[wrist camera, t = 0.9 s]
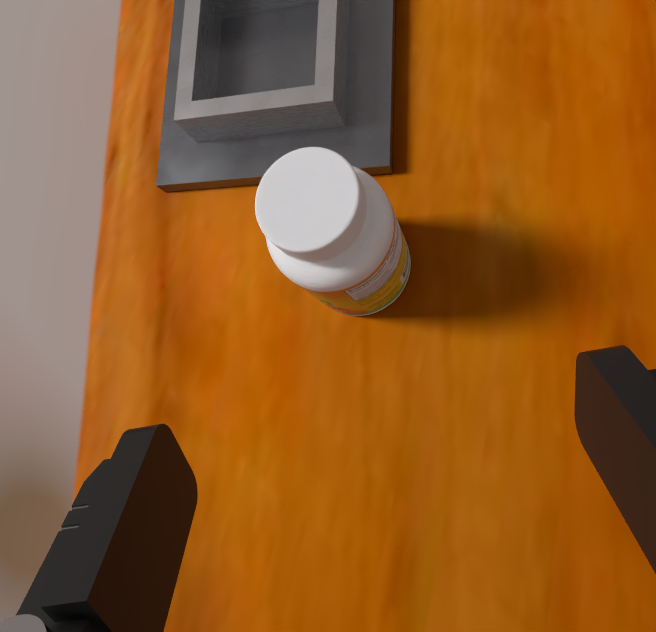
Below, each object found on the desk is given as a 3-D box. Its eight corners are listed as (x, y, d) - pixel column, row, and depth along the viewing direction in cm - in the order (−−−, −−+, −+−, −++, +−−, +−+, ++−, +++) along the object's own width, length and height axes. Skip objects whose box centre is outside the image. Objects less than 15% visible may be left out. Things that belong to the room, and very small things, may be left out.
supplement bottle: (294, 264, 29) (209, 196, 19) (369, 199, 28) (317, 98, 19) (353, 338, 27) (290, 302, 18) (433, 271, 26) (411, 199, 17)
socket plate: (184, -9, 34) (153, -54, 31) (396, -51, 30) (387, -108, 27) (165, 192, 32) (129, 167, 28) (392, 173, 28) (381, 142, 25)
